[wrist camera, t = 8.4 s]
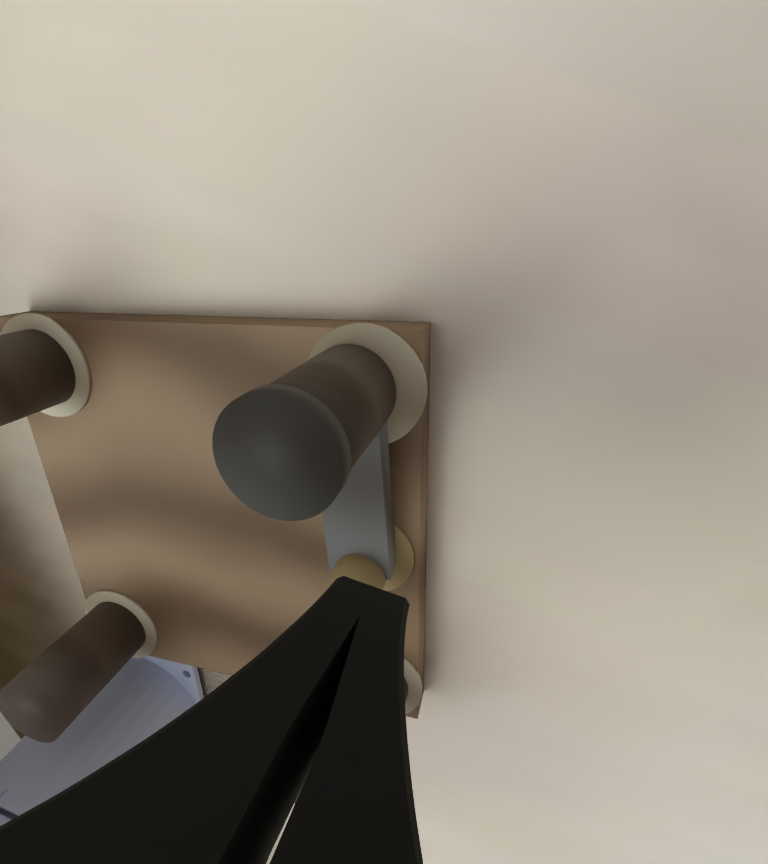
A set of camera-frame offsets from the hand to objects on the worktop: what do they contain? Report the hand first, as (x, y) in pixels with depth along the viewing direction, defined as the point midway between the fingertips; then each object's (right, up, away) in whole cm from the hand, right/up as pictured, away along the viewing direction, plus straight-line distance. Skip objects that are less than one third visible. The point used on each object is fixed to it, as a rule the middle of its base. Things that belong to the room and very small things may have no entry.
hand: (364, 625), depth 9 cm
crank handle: (-1, +2, +9) cm, 9 cm away
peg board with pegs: (-7, 0, +13) cm, 15 cm away
